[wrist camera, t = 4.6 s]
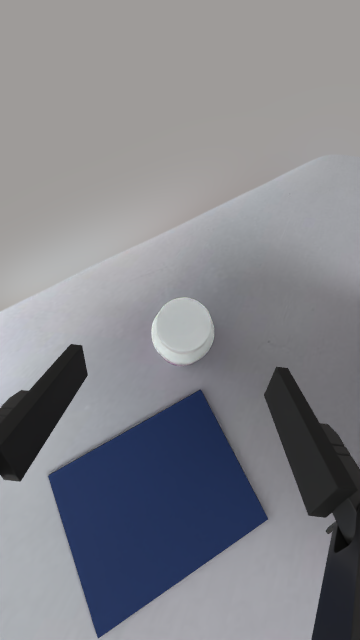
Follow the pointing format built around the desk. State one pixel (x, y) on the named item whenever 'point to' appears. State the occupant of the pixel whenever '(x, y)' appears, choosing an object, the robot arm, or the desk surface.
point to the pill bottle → (182, 331)
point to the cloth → (152, 508)
